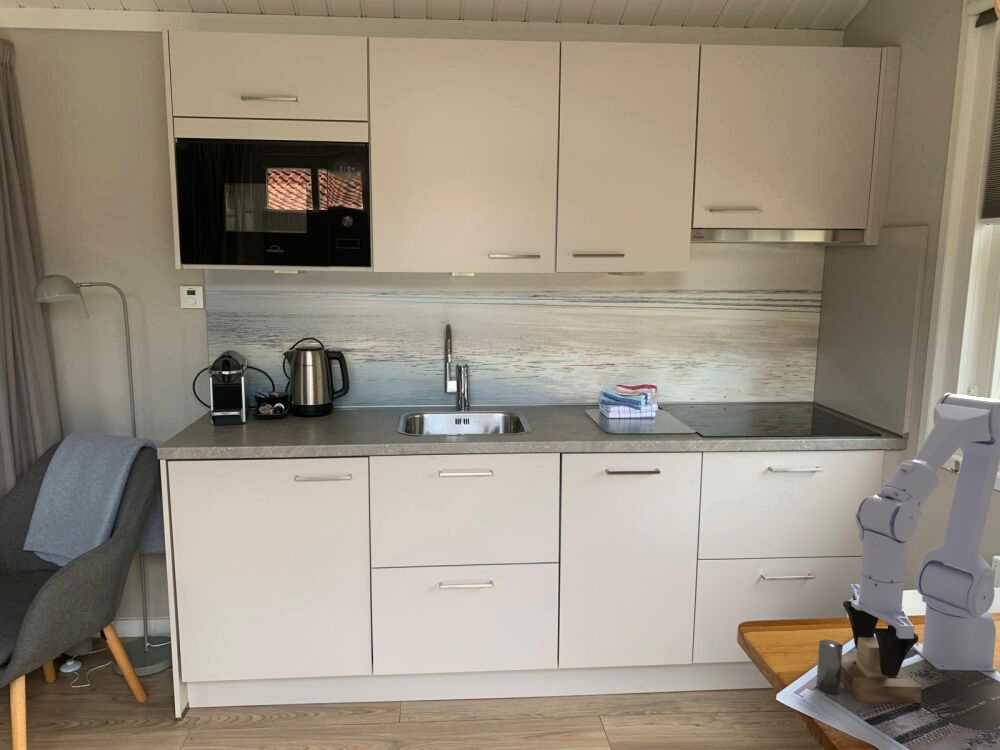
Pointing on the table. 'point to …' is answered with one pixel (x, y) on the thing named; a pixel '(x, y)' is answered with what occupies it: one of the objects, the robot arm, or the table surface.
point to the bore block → (878, 685)
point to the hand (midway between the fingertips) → (875, 661)
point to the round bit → (829, 666)
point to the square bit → (869, 657)
